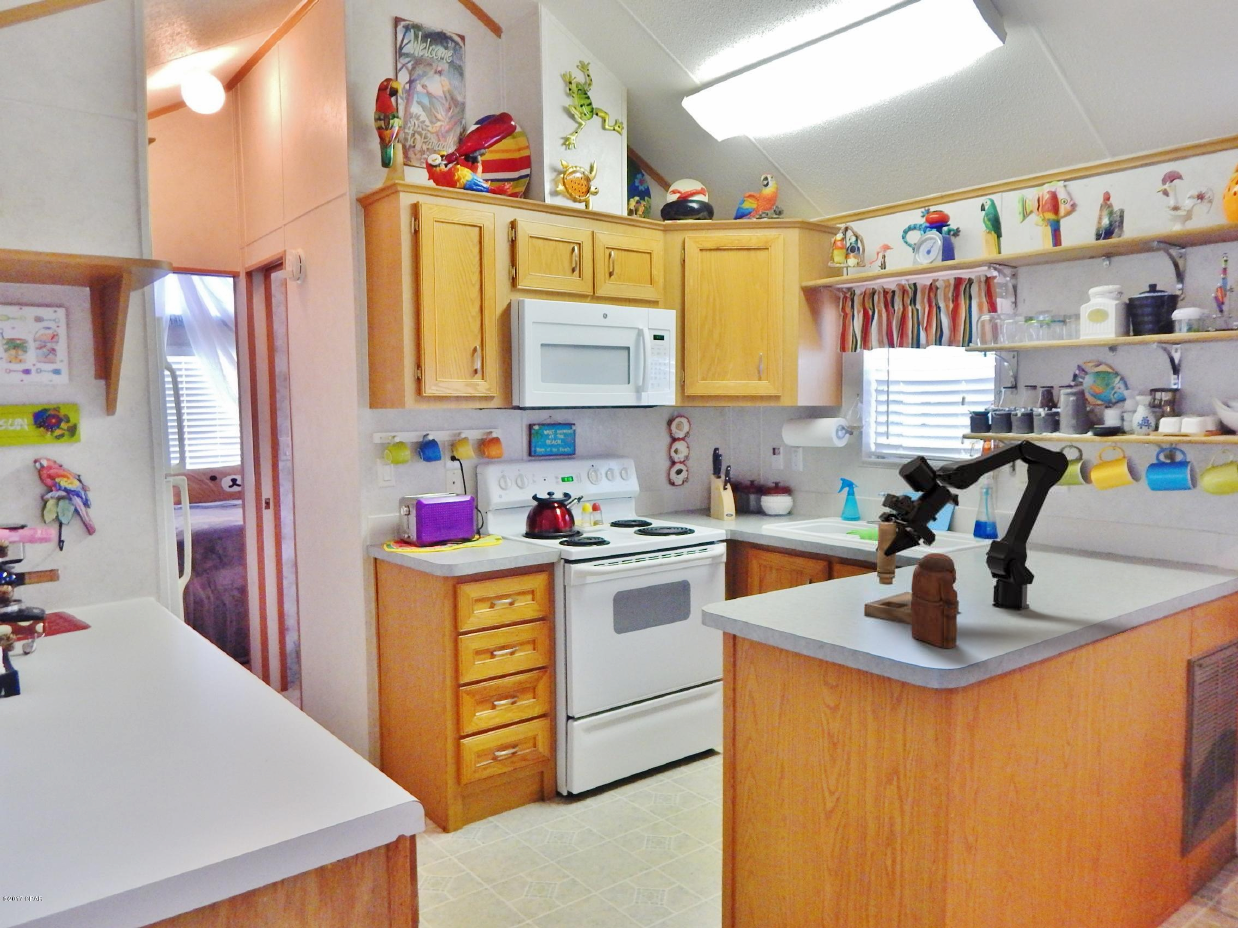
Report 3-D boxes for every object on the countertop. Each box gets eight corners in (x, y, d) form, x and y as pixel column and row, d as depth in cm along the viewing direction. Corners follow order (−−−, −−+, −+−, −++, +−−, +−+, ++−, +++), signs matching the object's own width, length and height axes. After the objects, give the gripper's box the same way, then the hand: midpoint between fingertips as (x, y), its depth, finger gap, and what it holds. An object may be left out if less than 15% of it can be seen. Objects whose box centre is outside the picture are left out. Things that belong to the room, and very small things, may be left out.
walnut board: (958, 610, 202) (958, 600, 202) (918, 625, 188) (918, 613, 188) (906, 601, 211) (906, 591, 211) (864, 614, 197) (864, 603, 197)
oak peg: (898, 583, 201) (899, 523, 200) (889, 585, 198) (890, 525, 197) (882, 580, 204) (884, 522, 203) (873, 583, 201) (875, 523, 200)
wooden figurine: (968, 647, 171) (971, 557, 170) (942, 650, 168) (945, 559, 167) (926, 632, 182) (929, 548, 181) (902, 635, 179) (904, 549, 178)
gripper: (887, 478, 209) (842, 524, 208) (924, 485, 191) (874, 535, 190) (917, 510, 211) (873, 556, 210) (956, 520, 192) (907, 570, 191)
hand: (881, 553), depth 200 cm, fingers closed on oak peg, 4 cm apart
